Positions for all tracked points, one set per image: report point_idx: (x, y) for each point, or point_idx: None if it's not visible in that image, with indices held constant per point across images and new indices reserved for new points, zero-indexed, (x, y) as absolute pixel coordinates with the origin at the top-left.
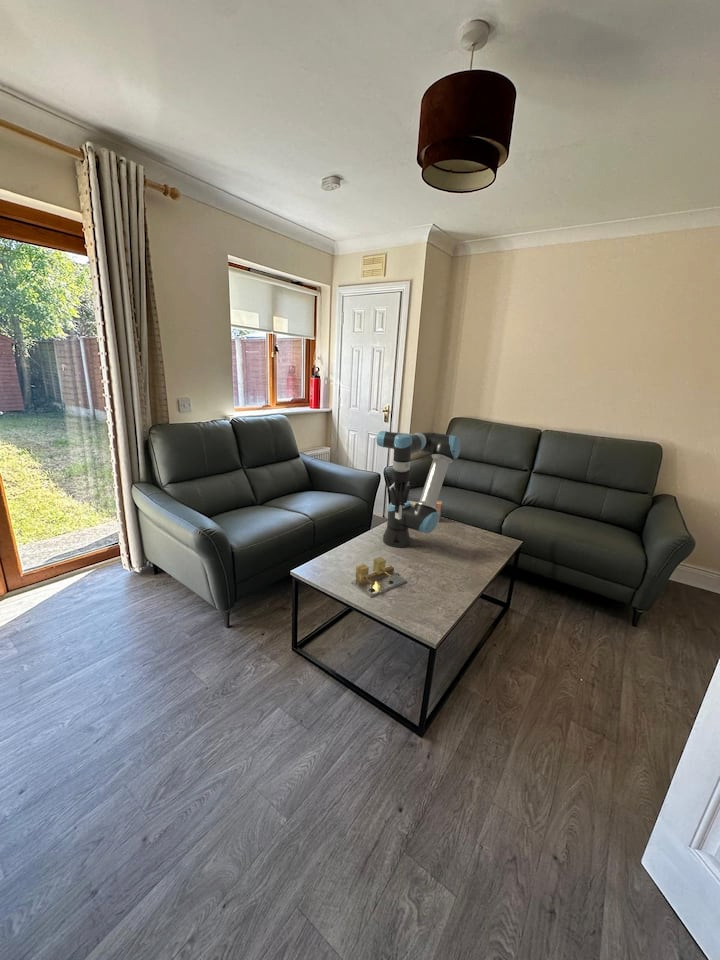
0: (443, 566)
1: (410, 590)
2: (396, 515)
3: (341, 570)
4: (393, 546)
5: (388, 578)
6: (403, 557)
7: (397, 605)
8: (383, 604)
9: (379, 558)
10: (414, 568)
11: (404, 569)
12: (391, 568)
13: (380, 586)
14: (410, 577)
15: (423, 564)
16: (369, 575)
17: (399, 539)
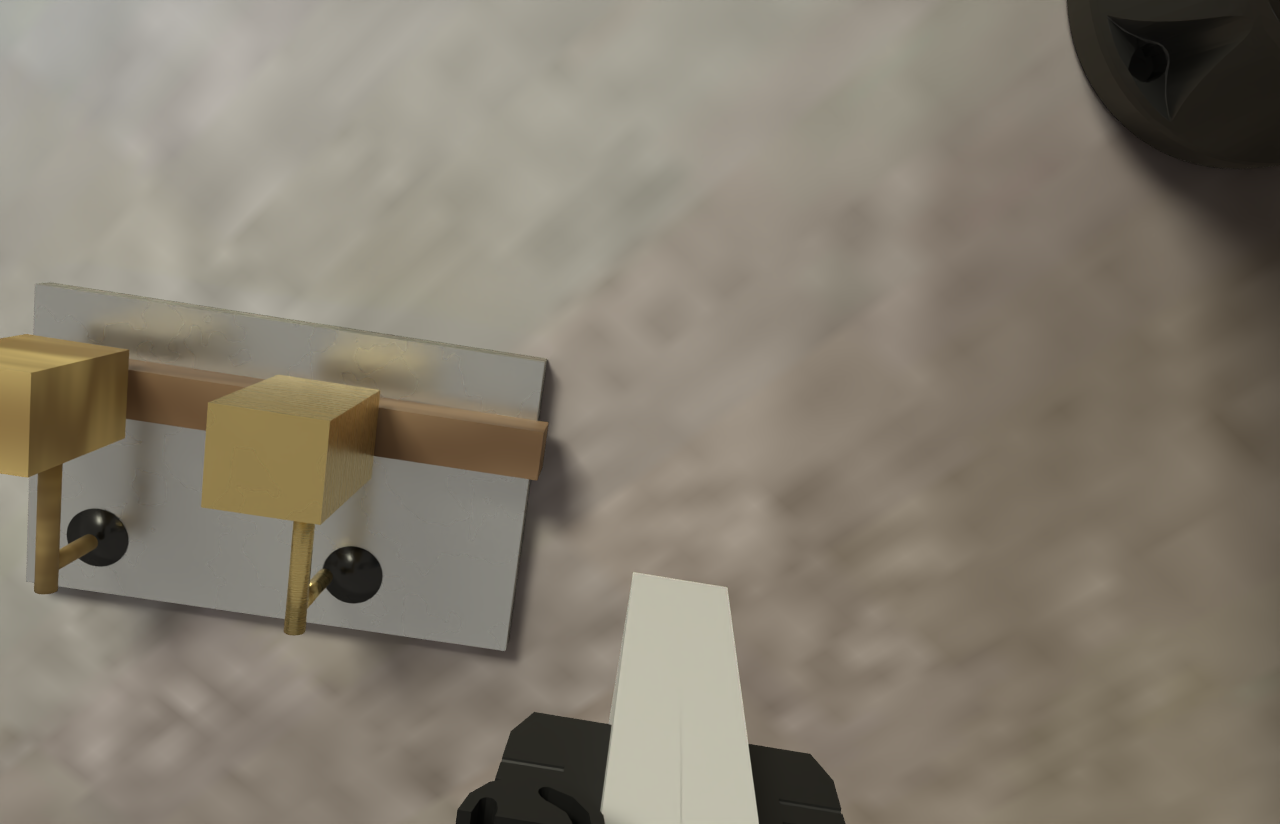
0: (1060, 730)
1: (426, 749)
2: (619, 666)
3: (135, 8)
4: (1080, 53)
5: (391, 514)
6: (927, 319)
7: (155, 801)
8: (66, 715)
9: (283, 443)
10: (801, 550)
11: (703, 490)
12: (503, 469)
13: (214, 552)
14: (616, 623)
15: (947, 568)
16: (192, 398)
17: (1191, 89)
